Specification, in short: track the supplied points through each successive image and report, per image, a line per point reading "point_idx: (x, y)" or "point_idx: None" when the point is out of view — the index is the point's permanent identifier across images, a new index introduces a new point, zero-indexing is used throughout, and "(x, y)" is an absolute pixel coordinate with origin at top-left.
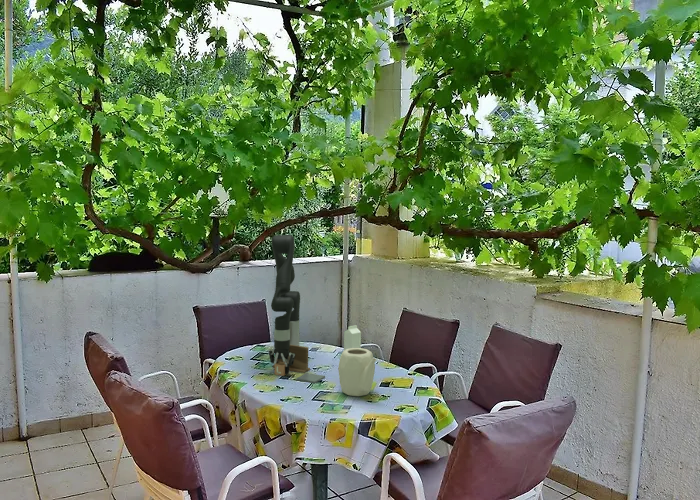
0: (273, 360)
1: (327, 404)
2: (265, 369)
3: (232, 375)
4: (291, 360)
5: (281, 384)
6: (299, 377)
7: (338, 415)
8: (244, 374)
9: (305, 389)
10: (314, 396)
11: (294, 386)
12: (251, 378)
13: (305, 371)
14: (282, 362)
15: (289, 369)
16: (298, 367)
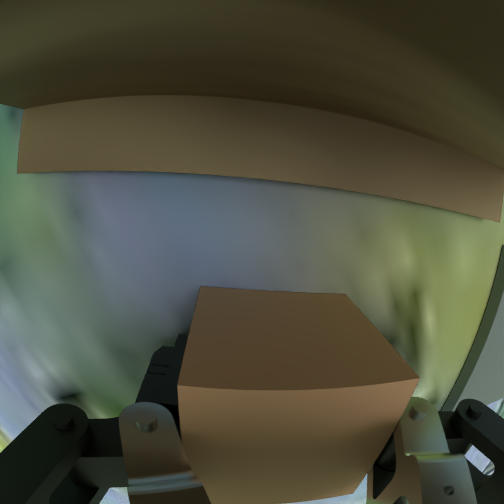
0: (90, 477)
1: None
2: (10, 272)
3: (2, 449)
4: (488, 496)
5: (357, 495)
6: (468, 391)
7: None
8: (18, 433)
9: (470, 457)
10: (485, 468)
11: None
12: (113, 488)
13: (496, 191)
14: (270, 414)
15: (316, 185)
16: (442, 137)
